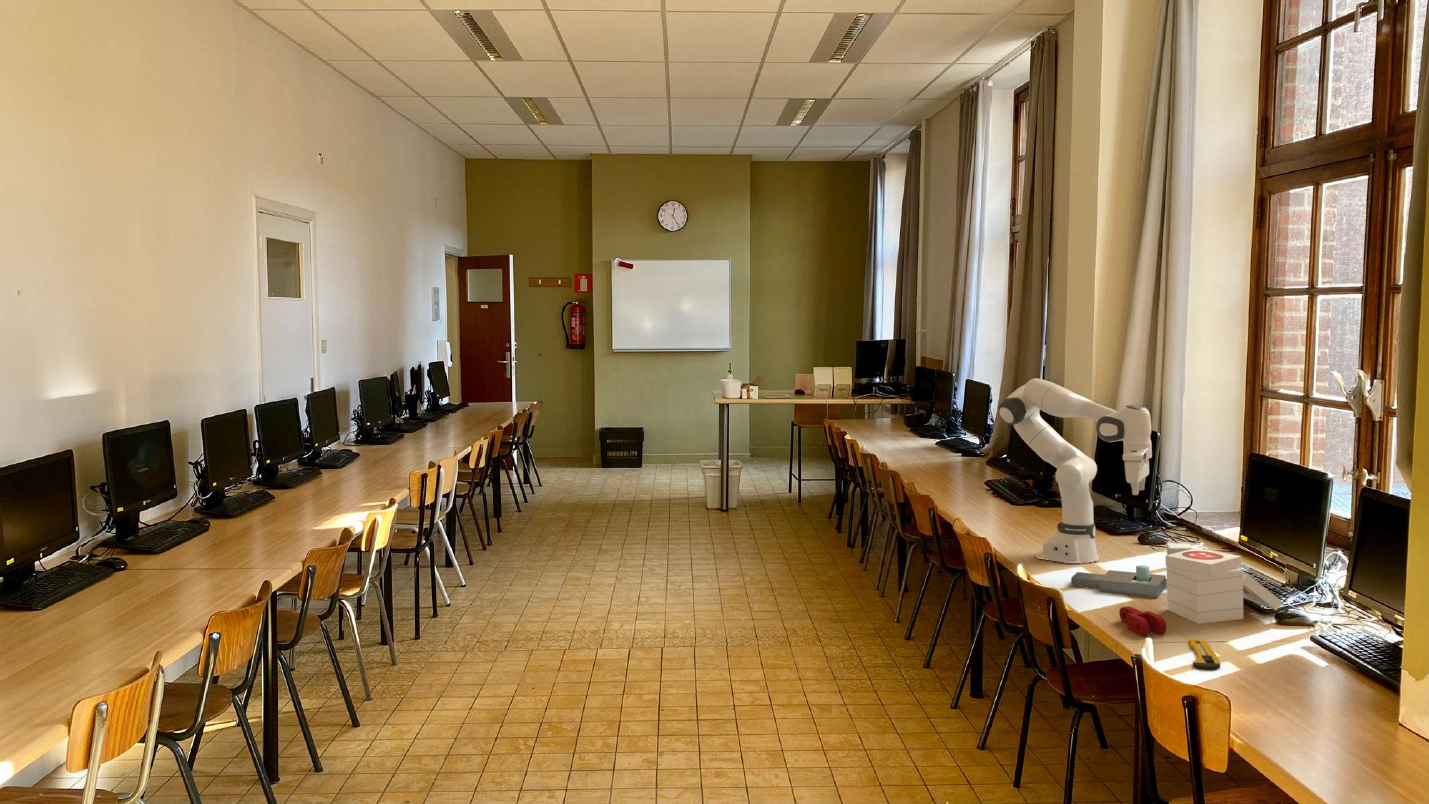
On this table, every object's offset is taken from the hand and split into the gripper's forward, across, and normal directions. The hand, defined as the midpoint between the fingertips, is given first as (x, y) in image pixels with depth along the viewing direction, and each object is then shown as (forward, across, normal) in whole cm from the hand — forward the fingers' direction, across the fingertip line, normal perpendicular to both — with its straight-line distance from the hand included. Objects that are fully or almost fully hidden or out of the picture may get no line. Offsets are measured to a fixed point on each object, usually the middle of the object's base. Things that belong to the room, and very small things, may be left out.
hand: (1138, 492), depth 327 cm
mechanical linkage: (+32, +53, +10) cm, 62 cm away
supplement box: (+31, -4, +12) cm, 34 cm away
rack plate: (+31, +12, -5) cm, 34 cm away
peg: (+31, +12, +3) cm, 33 cm away
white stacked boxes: (+31, +27, +28) cm, 50 cm away
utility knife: (+32, +70, +28) cm, 82 cm away
